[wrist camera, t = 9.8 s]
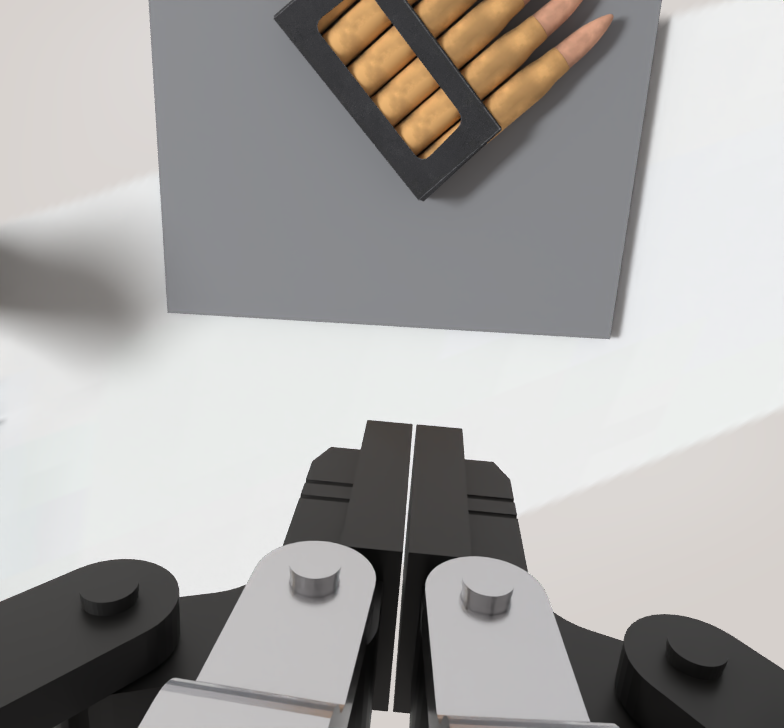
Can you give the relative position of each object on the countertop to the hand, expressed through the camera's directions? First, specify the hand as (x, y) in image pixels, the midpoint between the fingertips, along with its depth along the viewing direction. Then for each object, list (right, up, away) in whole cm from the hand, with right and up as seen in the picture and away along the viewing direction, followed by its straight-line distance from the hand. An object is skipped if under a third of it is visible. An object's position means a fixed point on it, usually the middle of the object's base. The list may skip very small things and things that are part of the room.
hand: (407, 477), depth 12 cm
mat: (0, +12, +25) cm, 28 cm away
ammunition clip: (-2, +14, +23) cm, 27 cm away
